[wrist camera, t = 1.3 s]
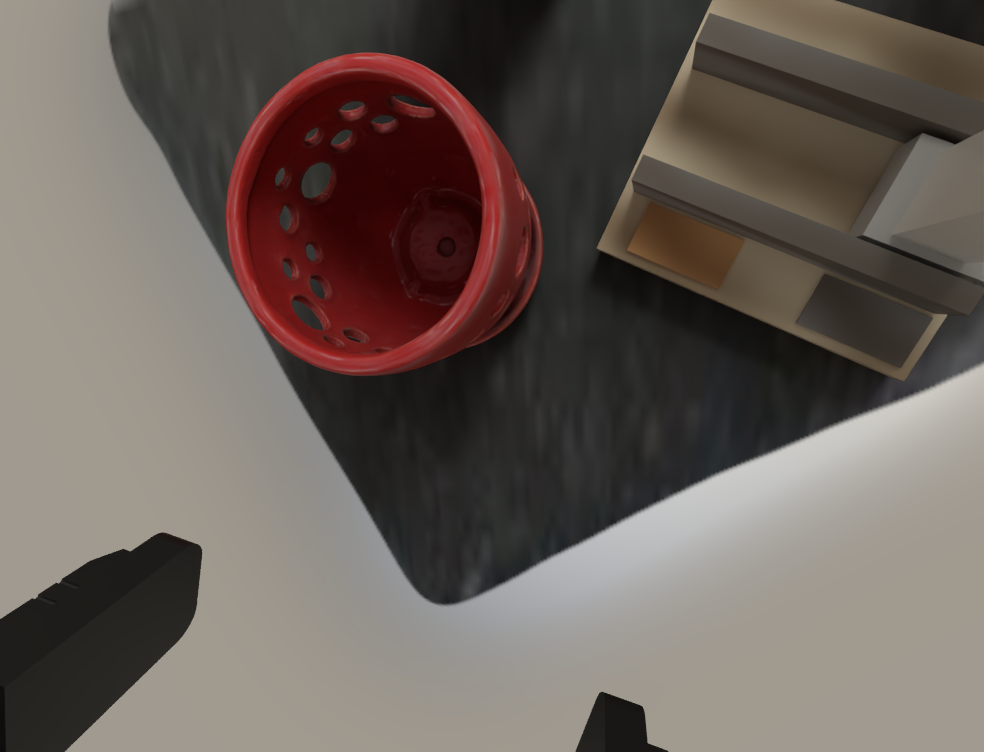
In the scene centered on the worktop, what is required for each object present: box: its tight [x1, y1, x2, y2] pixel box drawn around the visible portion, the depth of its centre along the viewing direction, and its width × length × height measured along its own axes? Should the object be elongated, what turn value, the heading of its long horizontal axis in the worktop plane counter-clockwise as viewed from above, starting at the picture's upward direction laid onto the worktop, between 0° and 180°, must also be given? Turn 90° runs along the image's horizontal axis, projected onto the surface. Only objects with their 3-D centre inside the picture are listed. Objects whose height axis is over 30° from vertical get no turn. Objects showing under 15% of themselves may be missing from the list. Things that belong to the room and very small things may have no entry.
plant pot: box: [226, 53, 543, 376], centre depth 28 cm, size 13×13×12 cm
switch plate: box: [597, 0, 984, 382], centre depth 25 cm, size 14×16×5 cm
